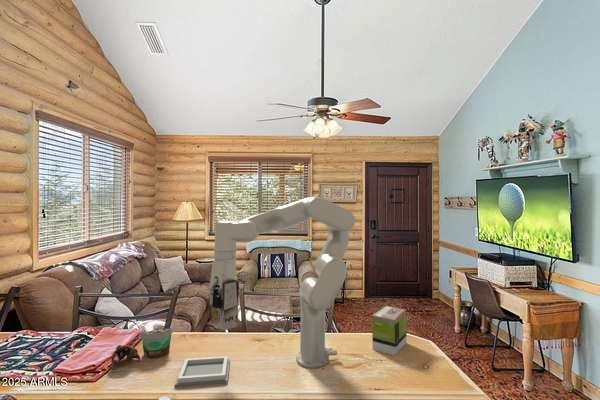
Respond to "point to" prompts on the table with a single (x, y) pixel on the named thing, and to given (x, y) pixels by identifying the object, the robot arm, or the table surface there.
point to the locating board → (203, 372)
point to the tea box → (389, 330)
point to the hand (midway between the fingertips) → (223, 304)
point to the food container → (156, 342)
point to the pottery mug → (121, 354)
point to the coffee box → (226, 307)
